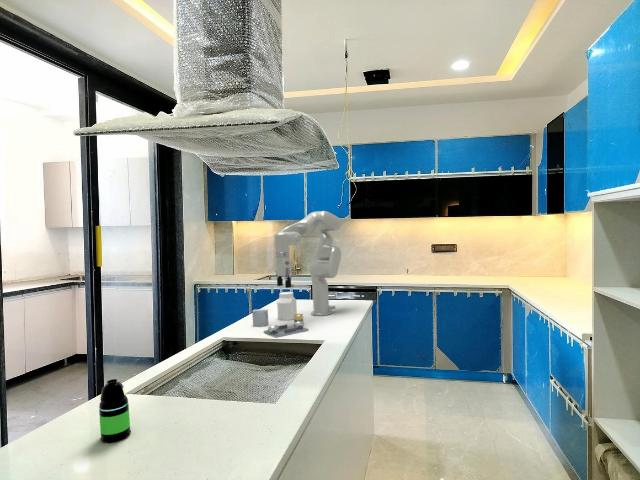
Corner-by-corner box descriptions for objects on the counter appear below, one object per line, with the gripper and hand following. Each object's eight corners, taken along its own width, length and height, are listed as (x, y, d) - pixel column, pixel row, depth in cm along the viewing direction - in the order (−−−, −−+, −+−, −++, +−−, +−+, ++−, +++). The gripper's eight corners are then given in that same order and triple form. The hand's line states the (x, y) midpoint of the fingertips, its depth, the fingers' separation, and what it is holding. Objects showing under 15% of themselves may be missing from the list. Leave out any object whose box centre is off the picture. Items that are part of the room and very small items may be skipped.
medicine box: (268, 324, 233) (267, 309, 233) (266, 326, 229) (266, 310, 229) (254, 324, 234) (254, 309, 234) (252, 326, 230) (252, 311, 229)
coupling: (300, 324, 230) (299, 313, 230) (305, 325, 226) (304, 314, 226) (292, 325, 227) (292, 314, 227) (297, 327, 223) (296, 316, 223)
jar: (289, 320, 240) (288, 294, 239) (275, 319, 244) (274, 294, 243) (299, 316, 250) (298, 291, 250) (285, 315, 254) (284, 291, 254)
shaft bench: (295, 326, 225) (295, 318, 225) (308, 330, 214) (308, 322, 214) (263, 332, 214) (263, 324, 214) (275, 337, 204) (275, 328, 203)
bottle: (99, 446, 106) (95, 388, 105) (101, 434, 112) (98, 379, 112) (130, 439, 109) (127, 382, 108) (131, 427, 115) (127, 374, 115)
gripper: (296, 255, 221) (297, 287, 221) (281, 254, 236) (283, 284, 236) (283, 256, 217) (285, 289, 217) (269, 255, 232) (271, 286, 232)
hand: (284, 286), depth 227 cm, fingers open, 9 cm apart
